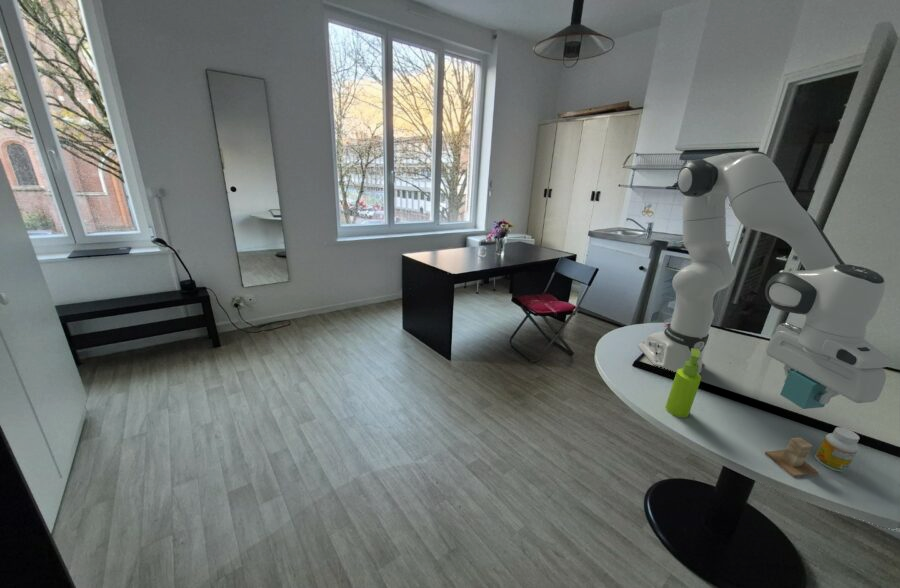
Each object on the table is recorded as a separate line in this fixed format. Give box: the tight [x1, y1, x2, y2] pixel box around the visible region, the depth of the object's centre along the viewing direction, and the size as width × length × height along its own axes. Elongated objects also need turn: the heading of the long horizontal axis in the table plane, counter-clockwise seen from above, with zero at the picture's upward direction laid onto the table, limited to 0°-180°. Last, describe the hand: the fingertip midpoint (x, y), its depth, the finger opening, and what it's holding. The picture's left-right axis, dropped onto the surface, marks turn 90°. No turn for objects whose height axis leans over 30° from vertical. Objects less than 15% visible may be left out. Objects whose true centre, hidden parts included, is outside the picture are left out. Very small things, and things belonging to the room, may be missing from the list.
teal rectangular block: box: [779, 370, 828, 410], centre depth 78 cm, size 5×5×7 cm
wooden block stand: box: [764, 437, 820, 478], centre depth 83 cm, size 7×7×7 cm
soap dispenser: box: [665, 348, 702, 419], centre depth 98 cm, size 6×7×20 cm
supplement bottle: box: [814, 426, 860, 472], centre depth 83 cm, size 5×5×10 cm
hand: (804, 392), depth 79 cm, fingers closed on teal rectangular block, 5 cm apart
